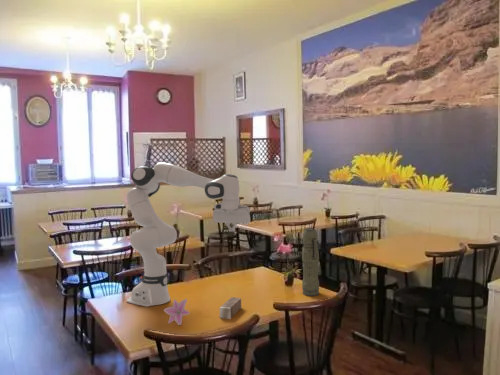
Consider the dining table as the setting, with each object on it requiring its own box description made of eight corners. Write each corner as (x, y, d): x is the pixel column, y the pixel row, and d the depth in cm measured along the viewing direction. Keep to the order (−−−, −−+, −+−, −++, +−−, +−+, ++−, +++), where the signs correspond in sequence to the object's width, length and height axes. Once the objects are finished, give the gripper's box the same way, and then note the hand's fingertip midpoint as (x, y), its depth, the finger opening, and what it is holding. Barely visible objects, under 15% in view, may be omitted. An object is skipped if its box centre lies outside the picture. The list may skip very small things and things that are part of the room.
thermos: (310, 289, 241) (310, 226, 238) (324, 294, 231) (323, 229, 228) (297, 291, 237) (296, 228, 234) (310, 297, 226) (310, 231, 224)
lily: (162, 320, 202) (158, 307, 196) (183, 305, 208) (179, 292, 203) (177, 335, 194) (173, 321, 189) (198, 319, 200) (194, 305, 195)
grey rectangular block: (231, 307, 215) (219, 317, 201) (231, 297, 215) (219, 307, 201) (241, 308, 214) (229, 319, 200) (241, 298, 213) (229, 308, 199)
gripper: (251, 204, 226) (252, 231, 227) (216, 204, 234) (216, 229, 235) (247, 206, 221) (248, 233, 222) (211, 205, 228) (211, 231, 229)
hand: (231, 231), depth 228 cm, fingers closed
